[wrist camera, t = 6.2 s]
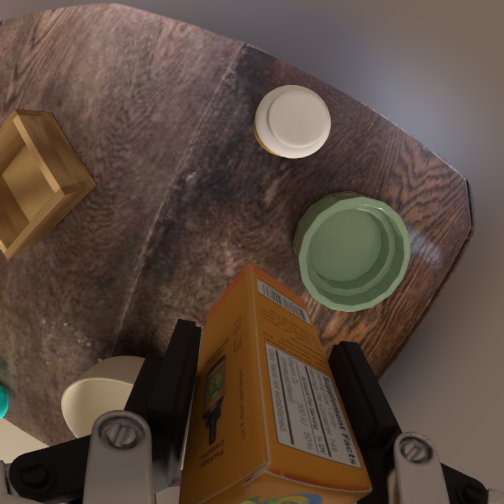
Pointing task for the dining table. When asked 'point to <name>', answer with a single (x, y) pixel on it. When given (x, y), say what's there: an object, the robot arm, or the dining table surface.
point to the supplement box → (267, 407)
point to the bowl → (100, 393)
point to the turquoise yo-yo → (3, 402)
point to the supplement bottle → (292, 122)
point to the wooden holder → (36, 179)
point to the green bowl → (351, 250)
